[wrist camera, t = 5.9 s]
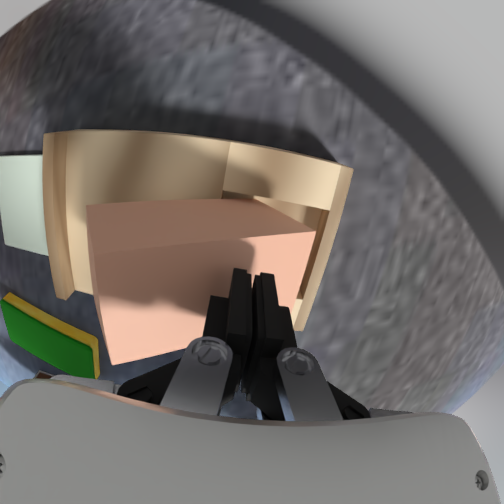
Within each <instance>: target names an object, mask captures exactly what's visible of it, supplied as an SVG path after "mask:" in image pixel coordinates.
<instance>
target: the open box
mask: <svg viewBox="0 0 504 504" xmlns="http://www.w3.org/2000/svg"><path fill="white" fill-rule="evenodd" d="M352 173H353V169H352V168H350V167H348V166H345V165H343V164H340V163H337V162H334V161H330V160H326V159H322V158H318V157H314V156H310V155H306V154H301V153H297V152H292V151H288V150H283V149H278V148H273V147H268V146H263V145H257V144H252V143H246V142H240V141H234V140H227V139H220V138H213V137H205V136H197V135H188V134H179V133H168V132H155V131H139V130H112V129H80V130H70V131H61V132H53V133H45V134H44V139H43V161H42V188H43V209H44V222H45V232H46V241H47V248H48V255H49V262H50V268H51V273H52V278H53V284H54V288H55V293H56V297H57V298H60V299H63V300H67V299H68V298H69V296H70V295H71V294H72V293H73V292H74V291H75V290H77V291H81V292H84V293H88V294H92V295H93V288H92V281H91V273H90V264H89V253H88V241H87V223H86V205H94V204H107V203H121V202H138V201H158V200H187V199H257V200H259V201H261V202H263V203H264V204H266V205H268V206H270V207H272V208H274V209H276V210H278V211H280V212H282V213H283V214H285V215H287V216H289V217H291V218H293V219H295V220H297V221H298V222H300V223H302V224H304V225H306V226H308V227H309V228H311V229H313V230H315V231H316V234H315V238H314V241H313V245H312V248H311V252H310V255H309V259H308V262H307V265H306V269H305V272H304V275H303V278H302V282H301V285H300V288H299V291H298V294H297V297H296V301H295V304H294V307H293V310H292V313H291V319H292V324H293V329H294V330H295V331H303V329H304V326H305V323H306V321H307V318H308V315H309V313H310V310H311V307H312V304H313V302H314V299H315V296H316V293H317V290H318V287H319V285H320V282H321V279H322V276H323V273H324V270H325V267H326V264H327V261H328V257H329V254H330V251H331V248H332V245H333V242H334V238H335V235H336V232H337V228H338V225H339V221H340V218H341V215H342V211H343V207H344V204H345V200H346V197H347V193H348V189H349V185H350V181H351V177H352Z"/></svg>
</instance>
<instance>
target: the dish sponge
mask: <svg viewBox="0 0 504 504" xmlns="http://www.w3.org/2000/svg"><path fill="white" fill-rule="evenodd" d="M0 304H1V308H2V312H3V316H4V320H5V323H6V327H7V330H8V334H9V337H10V339H11V340H12V341H13V342H14V343H16V344H17V345H19V346H20V347H22V348H24V349H25V350H27V351H28V352H30V353H32V354H33V355H35V356H37V357H38V358H40V359H42V360H44V361H45V362H47V363H49V364H51V365H53V366H54V367H56V368H58V369H60V370H62V371H64V372H66V373H68V374H70V375H72V376H75V377H82V378H89V379H98V377H99V375H100V368H99V350H98V339H97V338H96V337H95V336H93V335H91V334H88V333H86V332H84V331H82V330H80V329H77V328H75V327H73V326H71V325H69V324H67V323H65V322H63V321H61V320H59V319H57V318H55V317H53V316H51V315H49V314H47V313H45V312H43V311H42V310H40V309H38V308H36V307H34V306H33V305H31V304H29V303H27V302H26V301H24V300H22V299H20V298H19V297H17V296H15V295H14V294H12V293H11V292H9V293H8V294H7V295H6V296H5V297H4V298H3V299H2V300H1V301H0Z"/></svg>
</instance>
